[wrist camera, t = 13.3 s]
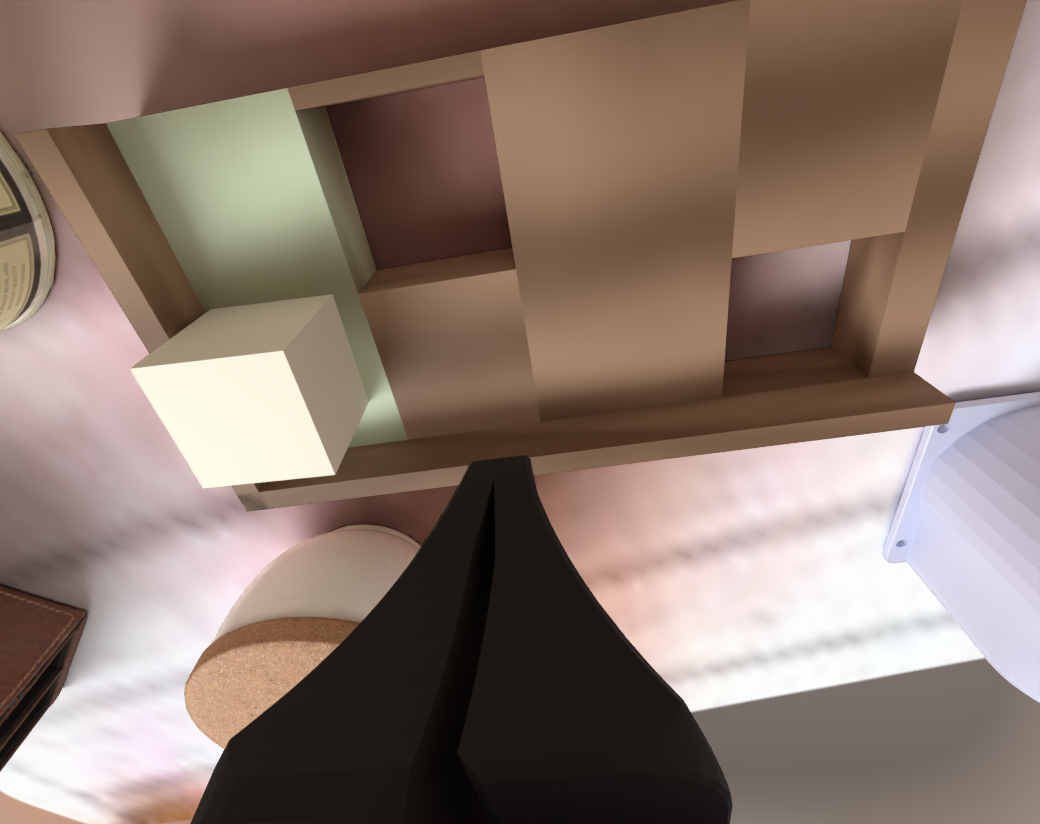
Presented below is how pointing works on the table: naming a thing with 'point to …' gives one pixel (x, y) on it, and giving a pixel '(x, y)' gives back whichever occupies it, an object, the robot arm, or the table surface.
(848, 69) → the board
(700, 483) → the table surface
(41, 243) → the coffee can
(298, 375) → the cream block
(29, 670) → the letter holder
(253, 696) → the lidded jar
